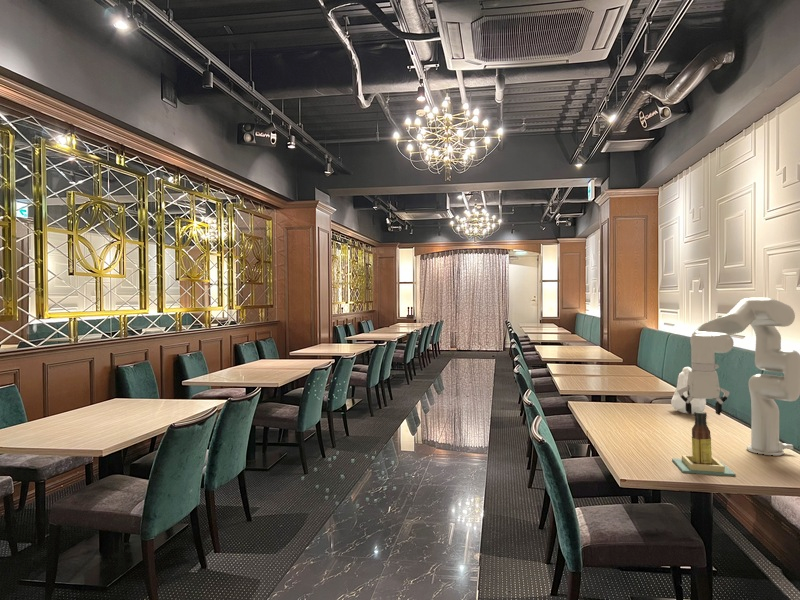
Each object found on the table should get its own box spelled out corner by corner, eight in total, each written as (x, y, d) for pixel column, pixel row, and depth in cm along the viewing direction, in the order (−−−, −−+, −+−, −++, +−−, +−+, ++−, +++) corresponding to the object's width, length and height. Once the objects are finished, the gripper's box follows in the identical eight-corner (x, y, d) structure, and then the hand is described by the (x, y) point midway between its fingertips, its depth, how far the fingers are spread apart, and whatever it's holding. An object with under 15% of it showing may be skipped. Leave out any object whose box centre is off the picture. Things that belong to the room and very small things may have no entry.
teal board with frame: (721, 463, 206) (721, 456, 206) (735, 476, 192) (735, 468, 192) (672, 460, 210) (672, 453, 210) (682, 472, 196) (682, 464, 196)
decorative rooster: (668, 408, 308) (668, 364, 308) (699, 410, 304) (699, 365, 304) (680, 418, 284) (680, 370, 284) (713, 419, 280) (713, 371, 280)
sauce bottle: (713, 465, 201) (713, 412, 201) (709, 469, 197) (709, 414, 197) (693, 462, 206) (694, 409, 206) (689, 465, 201) (689, 412, 201)
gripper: (725, 366, 202) (725, 412, 203) (674, 365, 206) (675, 410, 207) (732, 369, 195) (733, 416, 195) (680, 368, 199) (680, 415, 199)
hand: (703, 413), depth 201 cm, fingers open, 9 cm apart
